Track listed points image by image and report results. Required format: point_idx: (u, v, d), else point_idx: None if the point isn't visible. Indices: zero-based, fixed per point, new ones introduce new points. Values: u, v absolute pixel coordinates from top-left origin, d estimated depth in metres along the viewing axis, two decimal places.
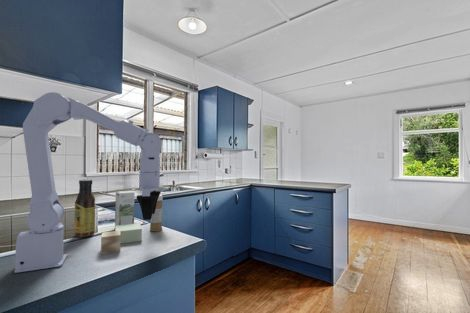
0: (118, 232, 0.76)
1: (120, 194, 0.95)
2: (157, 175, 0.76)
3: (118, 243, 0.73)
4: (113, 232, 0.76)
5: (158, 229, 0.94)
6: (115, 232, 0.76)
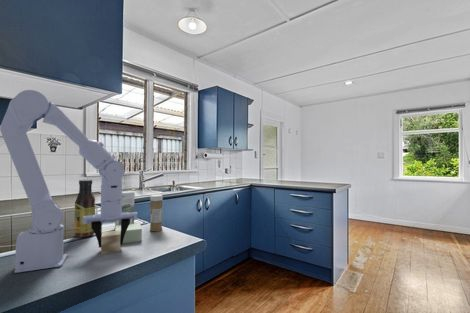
0: (118, 232, 0.76)
1: None
2: (105, 205, 0.72)
3: (118, 243, 0.73)
4: (113, 232, 0.76)
5: (158, 229, 0.94)
6: (115, 232, 0.76)
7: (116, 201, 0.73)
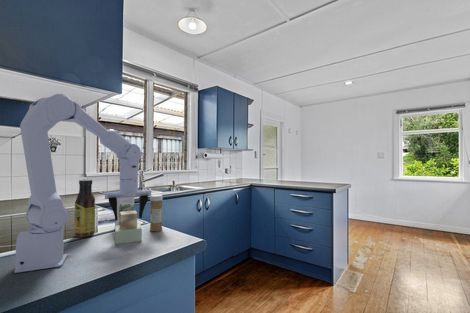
0: (134, 211, 0.87)
1: None
2: (124, 182, 0.82)
3: (135, 220, 0.84)
4: (130, 211, 0.86)
5: (158, 229, 0.94)
6: (131, 211, 0.86)
7: (133, 179, 0.84)
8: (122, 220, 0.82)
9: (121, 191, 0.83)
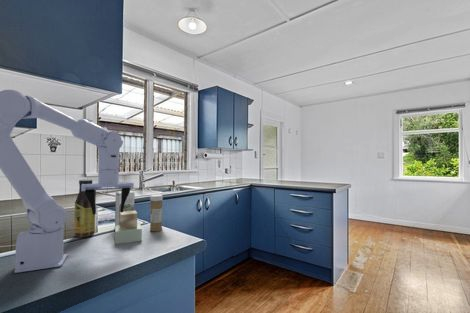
0: (134, 211, 0.87)
1: (120, 194, 0.95)
2: (103, 173, 0.75)
3: (135, 220, 0.84)
4: (130, 211, 0.86)
5: (158, 229, 0.94)
6: (131, 211, 0.86)
7: (113, 170, 0.77)
8: (122, 220, 0.82)
9: (99, 183, 0.76)
